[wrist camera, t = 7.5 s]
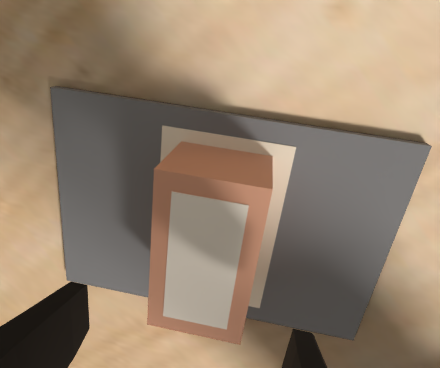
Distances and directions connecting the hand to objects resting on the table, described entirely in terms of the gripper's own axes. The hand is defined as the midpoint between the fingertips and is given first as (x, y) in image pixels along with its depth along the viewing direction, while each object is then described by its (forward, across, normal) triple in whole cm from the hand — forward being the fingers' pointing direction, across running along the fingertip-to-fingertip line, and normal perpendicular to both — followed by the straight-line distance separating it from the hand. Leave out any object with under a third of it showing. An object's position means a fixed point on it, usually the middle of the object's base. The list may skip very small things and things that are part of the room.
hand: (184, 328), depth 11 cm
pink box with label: (+7, 0, 0) cm, 7 cm away
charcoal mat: (+8, 0, 0) cm, 8 cm away
